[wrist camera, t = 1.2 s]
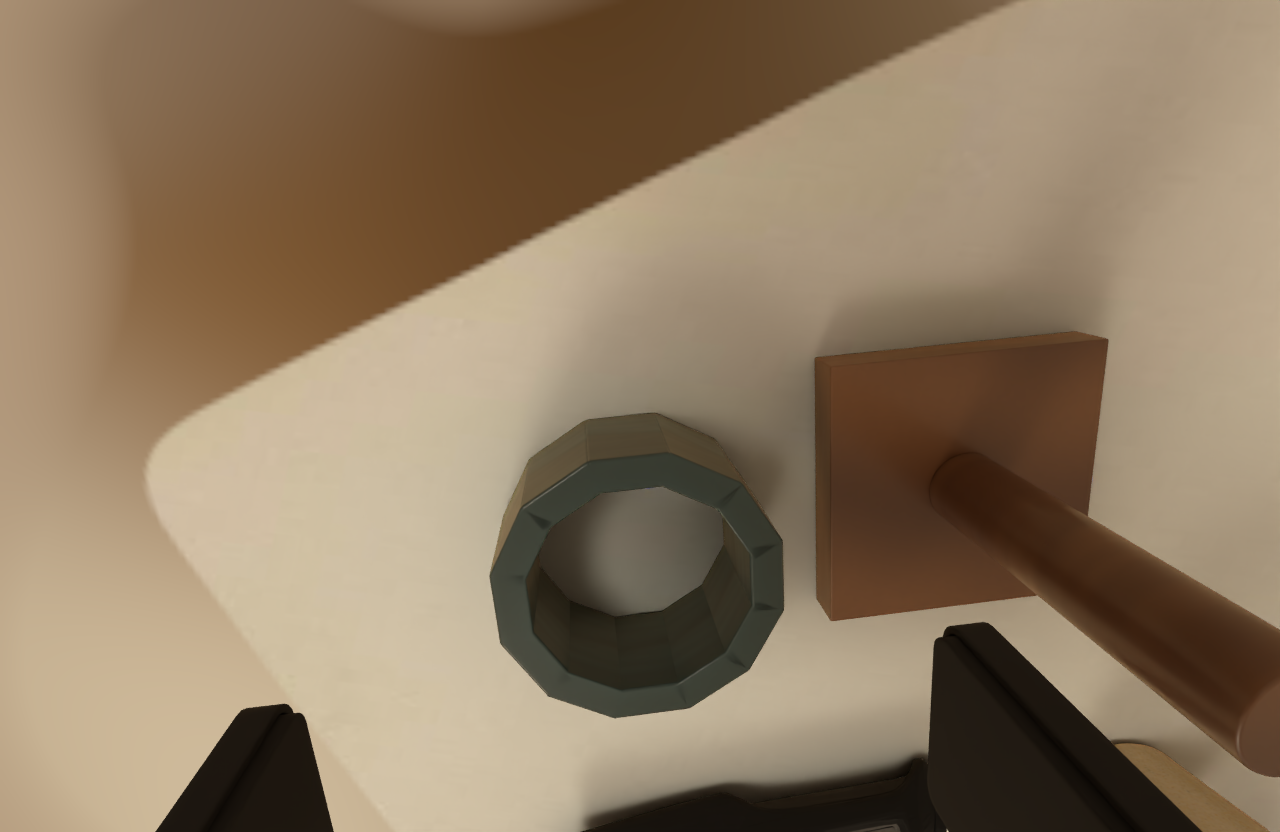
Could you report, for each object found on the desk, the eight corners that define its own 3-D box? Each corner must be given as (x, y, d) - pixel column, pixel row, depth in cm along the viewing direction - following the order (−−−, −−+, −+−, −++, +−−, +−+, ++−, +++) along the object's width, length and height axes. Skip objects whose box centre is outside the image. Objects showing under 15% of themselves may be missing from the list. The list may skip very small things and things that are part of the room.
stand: (813, 356, 22) (1087, 520, 10) (1076, 330, 23) (1617, 456, 11) (815, 598, 25) (1036, 950, 13) (1051, 569, 26) (1467, 880, 14)
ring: (489, 429, 22) (472, 473, 18) (746, 402, 23) (781, 440, 19) (523, 652, 25) (514, 733, 21) (754, 623, 25) (786, 696, 21)
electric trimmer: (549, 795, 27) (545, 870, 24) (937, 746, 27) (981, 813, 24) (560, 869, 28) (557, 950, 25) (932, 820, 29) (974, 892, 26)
